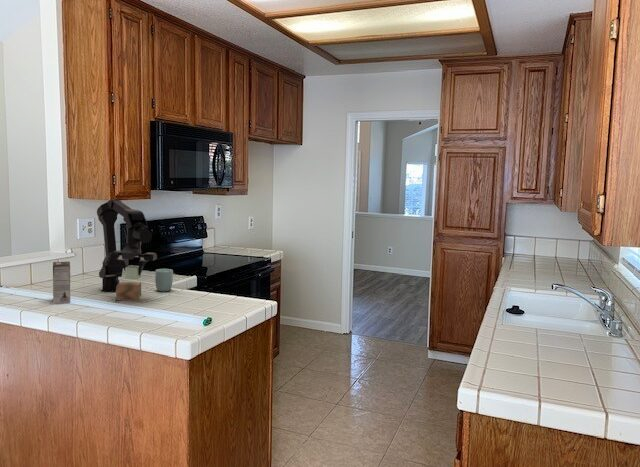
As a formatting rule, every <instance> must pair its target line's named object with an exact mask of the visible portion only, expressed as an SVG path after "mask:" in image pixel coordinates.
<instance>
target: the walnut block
mask: <svg viewBox="0 0 640 467" xmlns="http://www.w3.org/2000/svg"><path fill="white" fill-rule="evenodd" d="M141 296H142V282H141V281H140V282H139V281H137V282H135V281H133V282H130V281H128V282H125V281H124V282H123V281H120V283H119V284H118V285H117V286H116V291H115V300H118V301H122V300H123V301H124V300H130V301H131V300H132V301H133V300H136V301H137V300H139V299H140V297H141Z"/></svg>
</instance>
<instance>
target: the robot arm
mask: <svg viewBox="0 0 640 467" xmlns="http://www.w3.org/2000/svg"><path fill="white" fill-rule="evenodd" d="M96 214H97V219H98V221H99V222H100V224H101V225H102V229H103V241H104V251H105V257H104V259H103V260H102V266H101V268H100V270H99V272H98V277H99V278H100V279H102V284H101V285H102V287H101V288H102V289H100V291H101V292H113V293H114V292H116V286H117V285H118V284H119V283H120V282H121V280H120V279H119V278H121V277H122V276H123V271H125V267H127V266H129V262H130V261H129V260H134V259H140V260H138V266H139V271H138V275H139V276H140V274H141V275H142V272H143V270H144V267H145V265H146V264H147V262H154V261H155V260H157V259H158V254H157V253H156V252H145V253H142V248H141V247H142V243H144V244H146V243H150V241H152V239H153V233H152V232H151V230H149V226H148V221H147V219H146V216H145V214H144V212H143V211H141V210H139V209H134V208H131V207H130V206H128V205H127V204H125V203H124V202H123V201H122V200H120V199H109V200H108V201H107V202H104V203H103V204H100V206H98V207H97V209H96ZM118 215H120V216H122V217H123V221H124V223H125V224H126V226H125V227H124V228H125V229H126V242H125V246H124V248H123V249H122V250H117V240H116V231H115V223H116V222H117V220H118Z"/></svg>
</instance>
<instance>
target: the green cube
mask: <svg viewBox="0 0 640 467" xmlns="http://www.w3.org/2000/svg"><path fill="white" fill-rule="evenodd" d="M138 271H139V265H133V264H131V265H129V264H128V266H127V267H125V270H124V272H125V275H124V279H125V280H138V279H140V278H142V273H141V274H140V276H139V275H138Z"/></svg>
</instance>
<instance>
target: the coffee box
mask: <svg viewBox="0 0 640 467" xmlns="http://www.w3.org/2000/svg"><path fill="white" fill-rule="evenodd" d="M52 295H53V296H52V298H53V300H52V301H53V305H54V304H56V305H57V304H69V303H71V262H70V261H69V260H68V261H53V262H52Z"/></svg>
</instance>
